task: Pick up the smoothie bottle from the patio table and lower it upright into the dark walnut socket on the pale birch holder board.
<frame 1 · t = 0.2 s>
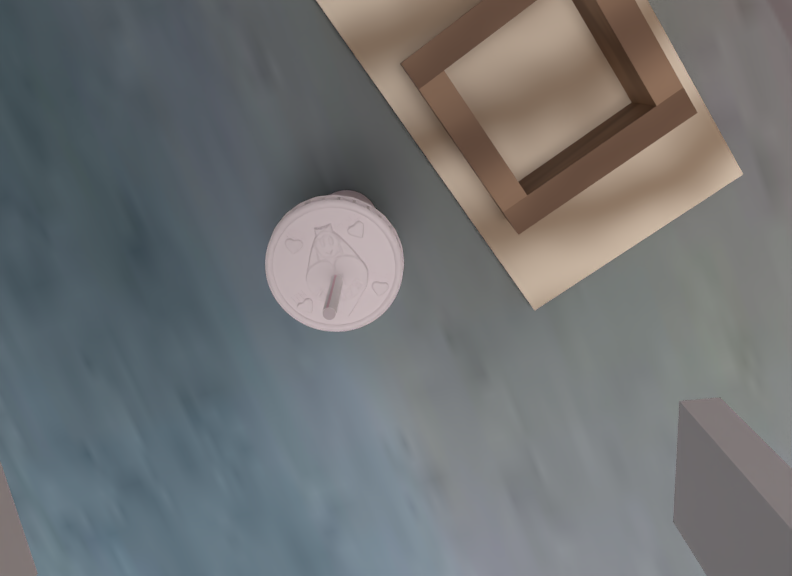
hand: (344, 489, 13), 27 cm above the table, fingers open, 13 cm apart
smoothie: (347, 219, 39), on the table
socket board: (532, 85, 36), on the table
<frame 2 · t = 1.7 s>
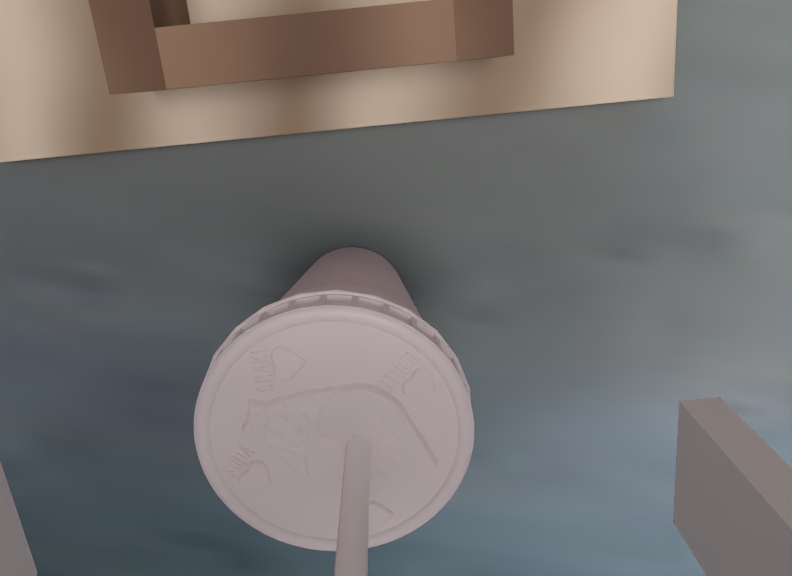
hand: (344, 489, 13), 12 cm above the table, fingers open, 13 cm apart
smoothie: (352, 294, 24), on the table
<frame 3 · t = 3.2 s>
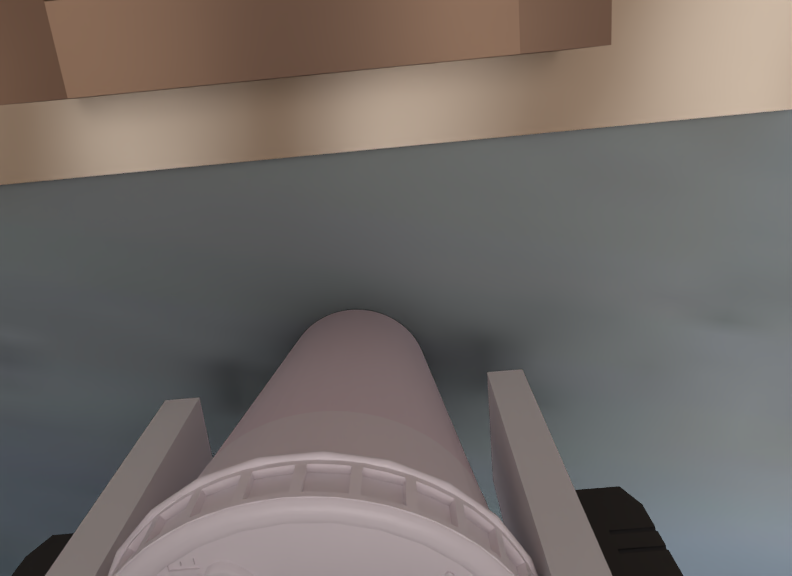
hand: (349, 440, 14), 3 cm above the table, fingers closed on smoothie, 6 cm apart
smoothie: (357, 370, 18), on the table, touching gripper
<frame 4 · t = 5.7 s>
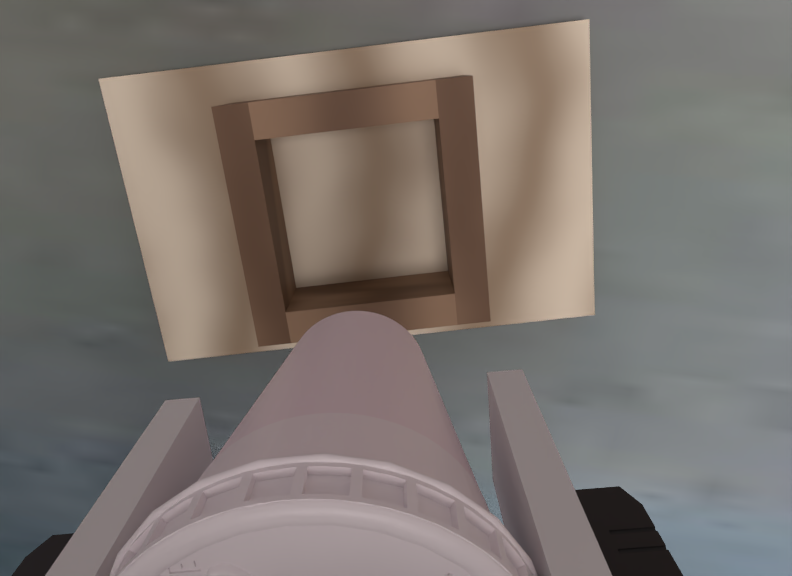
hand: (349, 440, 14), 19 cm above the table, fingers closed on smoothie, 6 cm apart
smoothie: (358, 371, 18), point 16 cm above the table, touching gripper
socket board: (362, 200, 32), on the table
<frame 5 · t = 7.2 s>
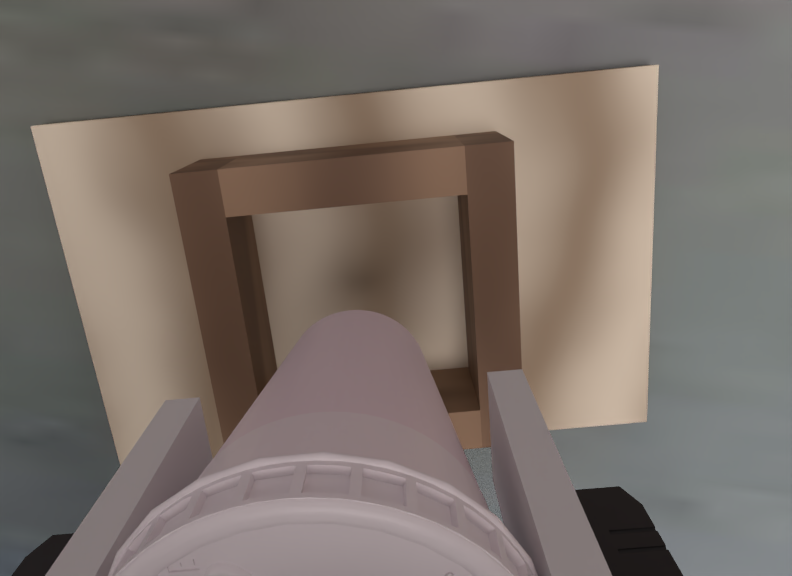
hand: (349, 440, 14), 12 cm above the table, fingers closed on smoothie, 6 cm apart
smoothie: (358, 370, 18), point 8 cm above the table, touching gripper
socket board: (364, 277, 26), on the table
when the fingers open (6 cm above the table, at t = 8.6 s): smoothie drops 2 cm, resting on socket board.
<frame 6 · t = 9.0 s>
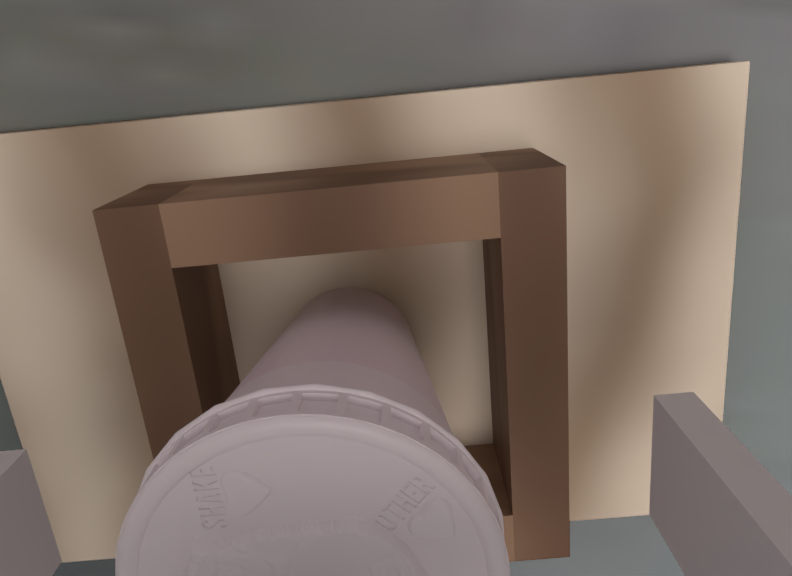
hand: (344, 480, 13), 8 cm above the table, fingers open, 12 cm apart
smoothie: (351, 343, 20), point 1 cm above the table, touching socket board
socket board: (361, 331, 20), on the table
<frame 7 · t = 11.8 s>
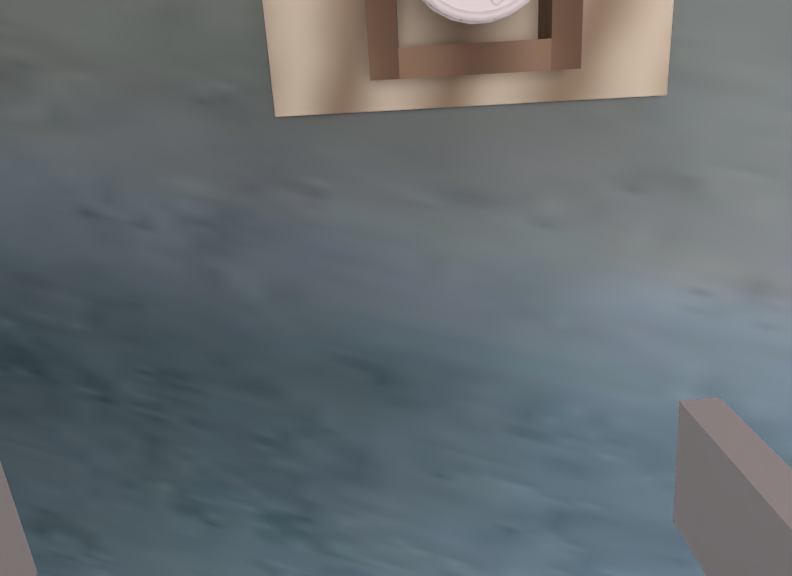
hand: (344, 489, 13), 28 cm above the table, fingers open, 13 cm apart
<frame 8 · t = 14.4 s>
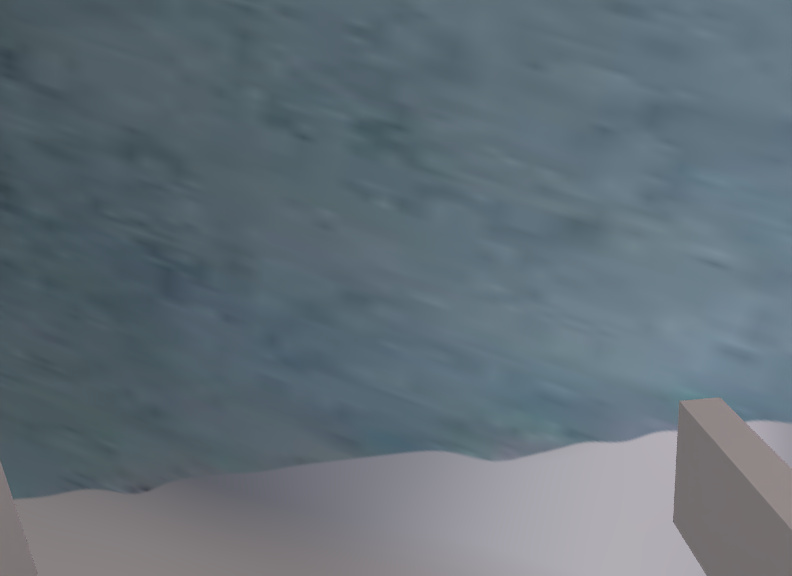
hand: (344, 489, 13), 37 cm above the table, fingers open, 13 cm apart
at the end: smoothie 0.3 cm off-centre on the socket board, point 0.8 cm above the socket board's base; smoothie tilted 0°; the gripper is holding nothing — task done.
